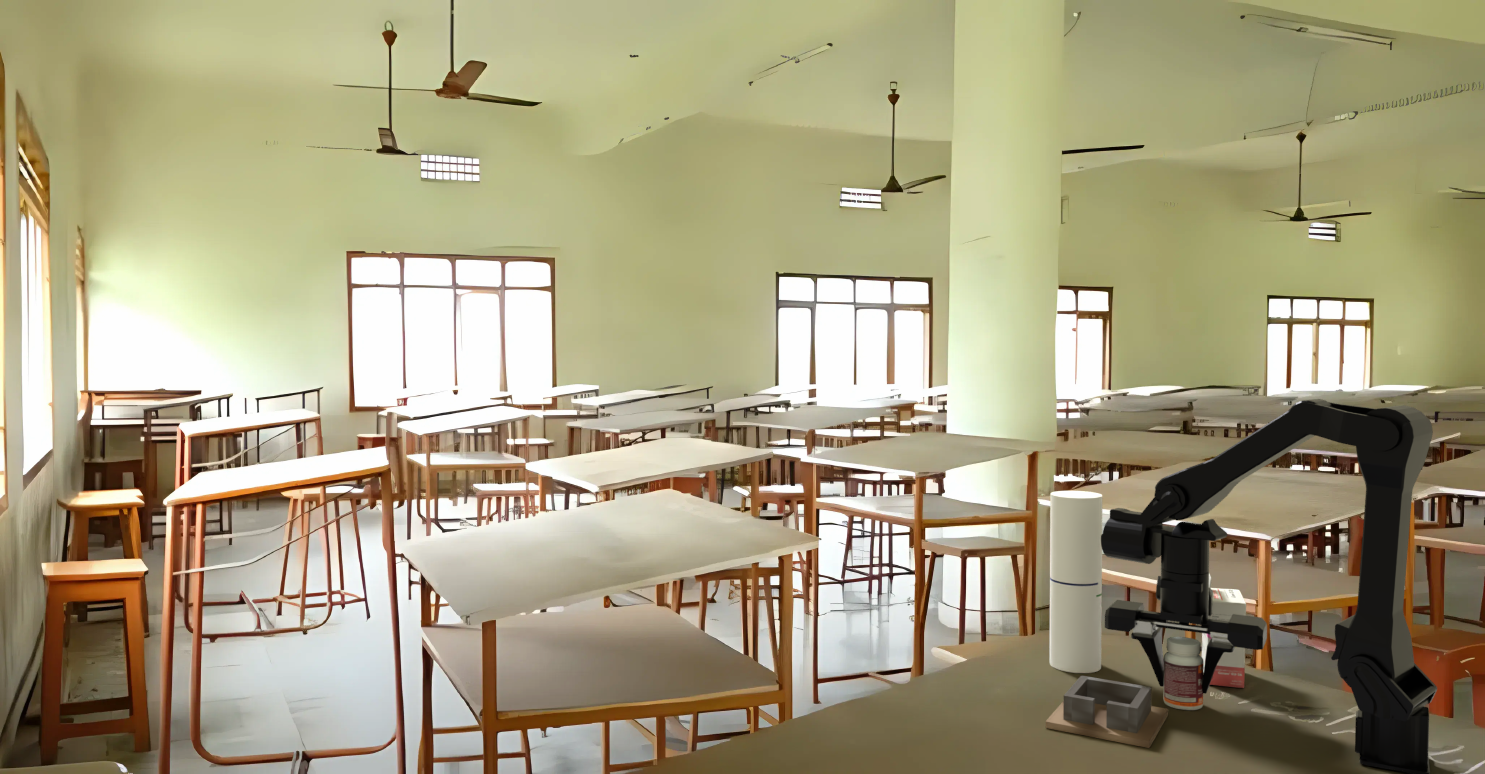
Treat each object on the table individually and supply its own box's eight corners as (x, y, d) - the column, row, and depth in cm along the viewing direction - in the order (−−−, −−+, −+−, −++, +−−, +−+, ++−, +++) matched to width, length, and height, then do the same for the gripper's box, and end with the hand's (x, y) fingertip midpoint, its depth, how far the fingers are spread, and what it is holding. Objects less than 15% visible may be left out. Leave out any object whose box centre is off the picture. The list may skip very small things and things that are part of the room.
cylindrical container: (1039, 661, 150) (1039, 492, 149) (1076, 654, 153) (1077, 489, 152) (1073, 675, 144) (1074, 499, 142) (1112, 668, 147) (1113, 495, 145)
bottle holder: (1167, 714, 128) (1168, 685, 128) (1149, 747, 118) (1149, 715, 118) (1071, 697, 135) (1071, 669, 135) (1045, 727, 125) (1045, 696, 125)
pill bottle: (1207, 712, 129) (1208, 647, 129) (1167, 709, 130) (1168, 645, 130) (1198, 699, 134) (1199, 636, 134) (1159, 696, 135) (1160, 634, 135)
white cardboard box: (1246, 689, 138) (1248, 581, 137) (1206, 685, 139) (1207, 578, 138) (1238, 669, 146) (1240, 567, 145) (1200, 666, 147) (1201, 565, 147)
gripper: (1271, 565, 133) (1270, 683, 134) (1122, 550, 143) (1121, 660, 144) (1263, 583, 124) (1261, 709, 124) (1104, 566, 134) (1103, 683, 134)
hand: (1183, 688), depth 132 cm, fingers open, 5 cm apart
